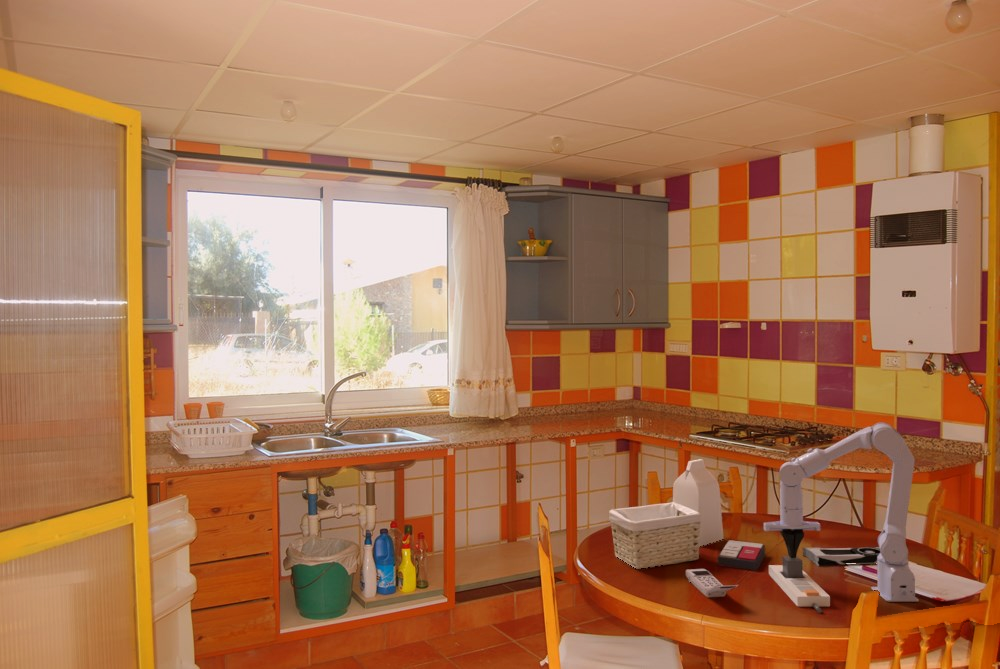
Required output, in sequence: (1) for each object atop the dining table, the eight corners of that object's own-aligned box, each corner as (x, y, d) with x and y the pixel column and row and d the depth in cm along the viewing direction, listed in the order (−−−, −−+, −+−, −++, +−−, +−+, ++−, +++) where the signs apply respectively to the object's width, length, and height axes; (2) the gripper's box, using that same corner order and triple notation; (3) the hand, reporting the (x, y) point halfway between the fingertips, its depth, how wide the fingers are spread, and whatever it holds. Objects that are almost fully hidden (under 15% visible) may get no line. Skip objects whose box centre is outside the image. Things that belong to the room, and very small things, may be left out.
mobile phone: (717, 586, 189) (681, 555, 214) (716, 609, 189) (681, 575, 214) (739, 585, 190) (701, 554, 214) (739, 608, 190) (701, 574, 215)
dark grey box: (717, 554, 221) (727, 538, 235) (717, 568, 222) (728, 551, 235) (756, 559, 216) (764, 542, 229) (756, 573, 216) (765, 556, 230)
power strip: (837, 613, 184) (836, 600, 184) (803, 613, 185) (803, 600, 185) (797, 573, 213) (797, 562, 213) (768, 574, 213) (768, 562, 213)
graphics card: (802, 546, 228) (885, 544, 228) (802, 558, 228) (885, 556, 228) (815, 557, 218) (902, 555, 218) (815, 568, 218) (902, 566, 218)
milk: (699, 546, 240) (698, 465, 239) (671, 538, 249) (670, 460, 248) (723, 539, 247) (722, 460, 246) (695, 532, 256) (694, 455, 256)
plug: (802, 586, 203) (802, 560, 203) (787, 586, 203) (787, 560, 203) (796, 580, 208) (796, 555, 208) (781, 580, 208) (781, 555, 208)
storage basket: (633, 572, 218) (632, 521, 217) (607, 556, 233) (606, 508, 233) (704, 562, 225) (703, 512, 225) (675, 546, 241) (674, 500, 240)
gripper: (813, 503, 208) (814, 552, 208) (759, 503, 209) (760, 552, 209) (822, 509, 201) (823, 560, 201) (767, 510, 202) (768, 560, 202)
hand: (792, 556), depth 205 cm, fingers closed
